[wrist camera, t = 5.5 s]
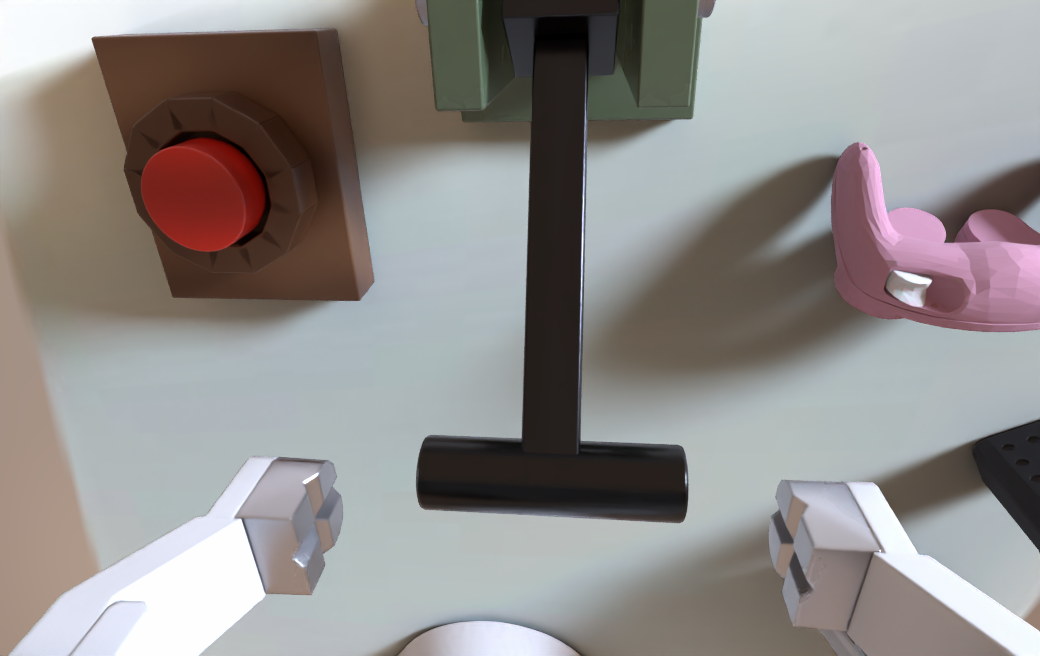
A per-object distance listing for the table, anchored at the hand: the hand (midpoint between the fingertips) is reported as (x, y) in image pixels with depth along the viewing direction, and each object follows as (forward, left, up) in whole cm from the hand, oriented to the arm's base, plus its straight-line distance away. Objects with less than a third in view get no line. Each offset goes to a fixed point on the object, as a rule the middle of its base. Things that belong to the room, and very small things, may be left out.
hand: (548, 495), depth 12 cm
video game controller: (0, -15, -18) cm, 24 cm away
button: (+2, +14, -14) cm, 20 cm away
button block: (+2, +14, -18) cm, 23 cm away
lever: (+4, 0, -4) cm, 6 cm away
